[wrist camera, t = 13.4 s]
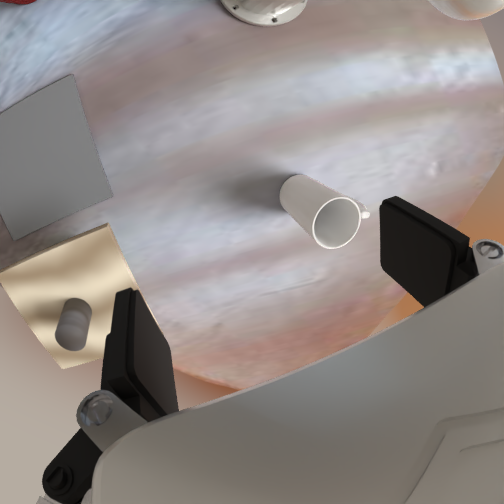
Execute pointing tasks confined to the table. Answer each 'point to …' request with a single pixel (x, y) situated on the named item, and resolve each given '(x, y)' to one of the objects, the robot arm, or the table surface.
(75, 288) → the lid
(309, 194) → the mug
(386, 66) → the table surface
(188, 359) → the table surface
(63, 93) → the mat
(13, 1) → the plastic cup
